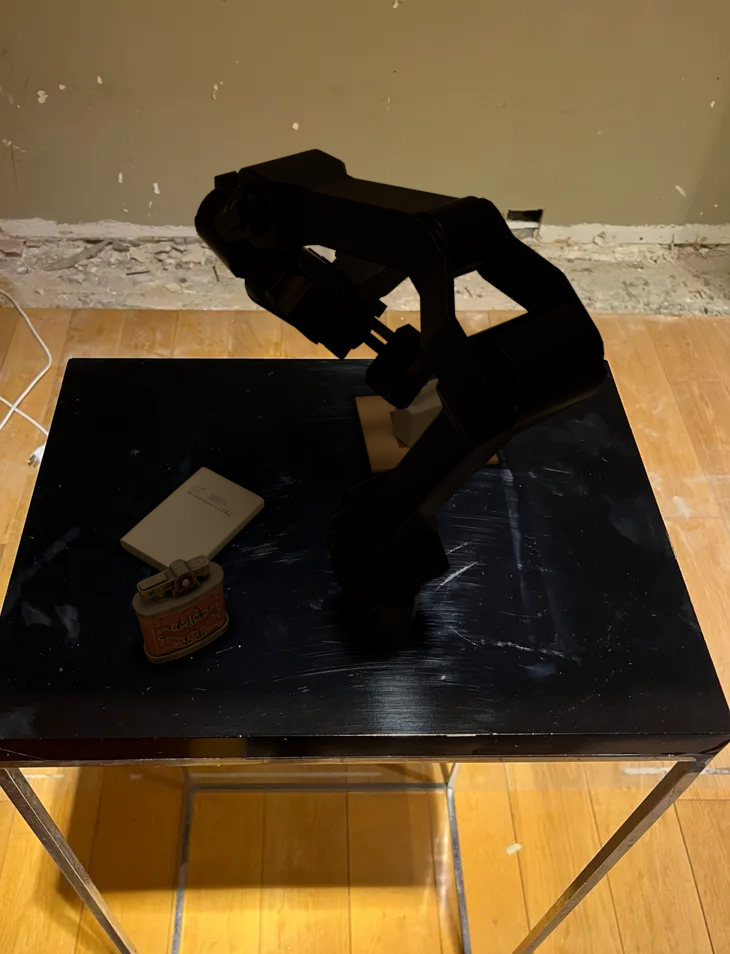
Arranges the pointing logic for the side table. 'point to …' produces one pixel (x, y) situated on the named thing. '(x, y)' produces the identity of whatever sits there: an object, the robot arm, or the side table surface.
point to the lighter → (181, 608)
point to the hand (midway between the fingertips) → (396, 355)
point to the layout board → (383, 434)
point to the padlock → (417, 414)
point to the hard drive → (193, 521)
